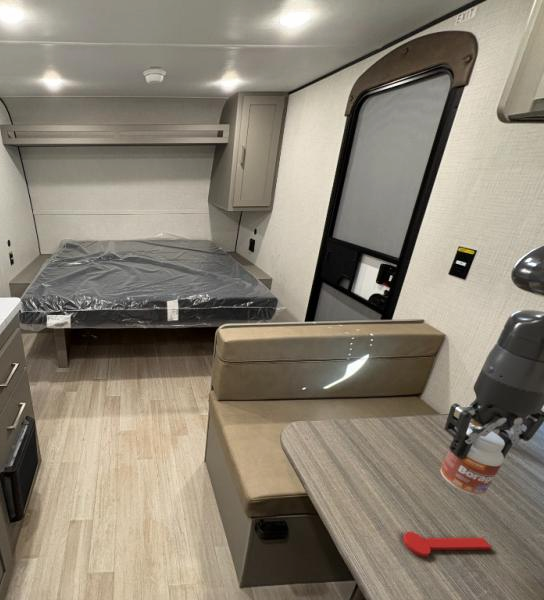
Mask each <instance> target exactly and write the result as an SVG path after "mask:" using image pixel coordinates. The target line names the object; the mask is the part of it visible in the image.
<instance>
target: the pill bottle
mask: <svg viewBox="0 0 544 600" xmlns="http://www.w3.org/2000/svg"><path fill="white" fill-rule="evenodd" d="M477 427H478V426H477ZM478 428H479V429H480V428H482V427H478ZM471 432H472V429H470V428H468V430H467V433H466V434H467V435H469V434H470V433H471ZM497 434H498V433H495V432H493V431H491V432H490V433H489V434H488V435H487V436H485V437H483V436H480V437H479V438H477V439H476V440H475V441H474V442H473V443H472V446H471V448H470V450H469V452H468V454H467V456H466V458H465V459H459V458H458V457H456V456H455V455H454V454H453V453H452V452H451V451H450V449H449V451H448V453H447V454H446V456H445V458H444V460H443V462H442V464H441V467H440V474H441V476H442V478H443V479H444V480H445V481H446V482H447V483H448V484H449V485H450V486H451V487H454V488H455V489H456V490H458V491H460V492H462V493H465V494H468V495H472V496H482V495H484V494H485V493H486V492H487V491H488V489H489V488H490V486H491V484H492V482H493V480H494V479H495V477H496V475H497V473H498V471H499V470H500V468H501V467H502V465H503V463H504V460H505V458H504V457H503V454H502V452H501V450H502V449H503V447H504V445H505V442H504V440H503V439H502V438H501V437H500V436H498V435H497Z"/></svg>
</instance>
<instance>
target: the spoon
mask: <svg viewBox="0 0 544 600" xmlns="http://www.w3.org/2000/svg"><path fill="white" fill-rule="evenodd" d="M402 541H403V543H404V544H405V546H406V547H407V548H408V549H409V550H410V551H411V552H412V553H413V554H415V555H416V556H419V557H423V558H424V557H425V558H426V557H428V556H430V554H431V552H432V551H456V550H458V551H461V550H463V551H464V550H467V551H468V550H472V551H473V550H474V551H475V550H479V551H480V550H492V546H491V544H490V543H488V542H487V540H486V539H485V538H484V537H445V538H444V537H443V538H442V537H440V538H439V537H438V538H437V537H435V538H433V537H432V538H431V537H430V538H427V537H425V538H424V537H423V536H421V535H419V534H418V533H417V532H413V531H407V532H405V533H404V535H403V539H402Z"/></svg>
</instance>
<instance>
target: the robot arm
mask: <svg viewBox="0 0 544 600" xmlns="http://www.w3.org/2000/svg"><path fill="white" fill-rule="evenodd" d="M510 273H511V274H510V278H511V281H512V284H514V285H515V287H517V288H518V289H519V290H522V291H524V292H525V293H529V294H532V295H535V296H539V297H541V298H544V244H542V245H541V246H539V247H536V248H534V249H532V250H530V251H529V252H528V253H526V254H524V255H523V256H522V257H521V258H519V259H518V261H517V262H516V263H515V264H514V266H513V267H512V269H511V272H510ZM473 392H474V393H475V399H474V401H472V402H471V403H470V404H469V405H467V406H461V405H460V404H459V403H452V404H451V406H450V409H449V412H448V414H447V418H446V421H445V427H444V431H445V432H446V433H448V434H449V435H450V436H452V438H453V439H452V441H451V443H450V445H449V450H450V451H451V452H452V453H453V454H454V455H455V456H456V457H458V458H459V459H465V458H466V456H467V454H468V452H469V450H470V448H471V446H472V443H473V442H474V441H475V440H476V439H477V438H479V437H480V436H483V437H485V436H487V435H488V434H489V433H490V432H491V431H492V432H493V431H496V434H497V435H498V436H500V437H501V438H502V439H503V440H504V442H505V445H504V447H503V449H502V450H501V452H502V454H503V457H504V459H505V458H506V456H507V455H508V453H509V451H510V450H511V448H512V446H513V445H516V444H518V443H519V442H520V441H521V440H523V441H524V442H528V441H530V440H531V439H532V438H533V437H534V435H535V434H536V433H537V432H538V430H539V429H540V427H542V425H543V423H544V410H543V407H544V311H541V310H533V309H522V310H521V309H519V310H517V311H514V312H512V313H511V314H510V315H509V316H508V318H507V320H506V321H505V324H504V325H503V327H502V329H501V332H500V334H499V336H498V338H497V341H496V342H495V344H494V346H493V347H492V349H491V350H490V352H488V355H487V356H486V359H485V361H484V362H483V365H482V368H481V370H480V372H479V373H478V376H477V378H476V380H475V382H474V384H473ZM473 419H474V420H475V422H476V423H478V424H479V425H481V426H482V428H480V429H479V428H478V427H477V426H475V425H474V424H473V423H472V421H473ZM522 426H525V427H526V429H525V431H524V430H522ZM468 428H470V429H472V432H471V433H470V434H469V435H467V434H466V433H467V430H468Z"/></svg>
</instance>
